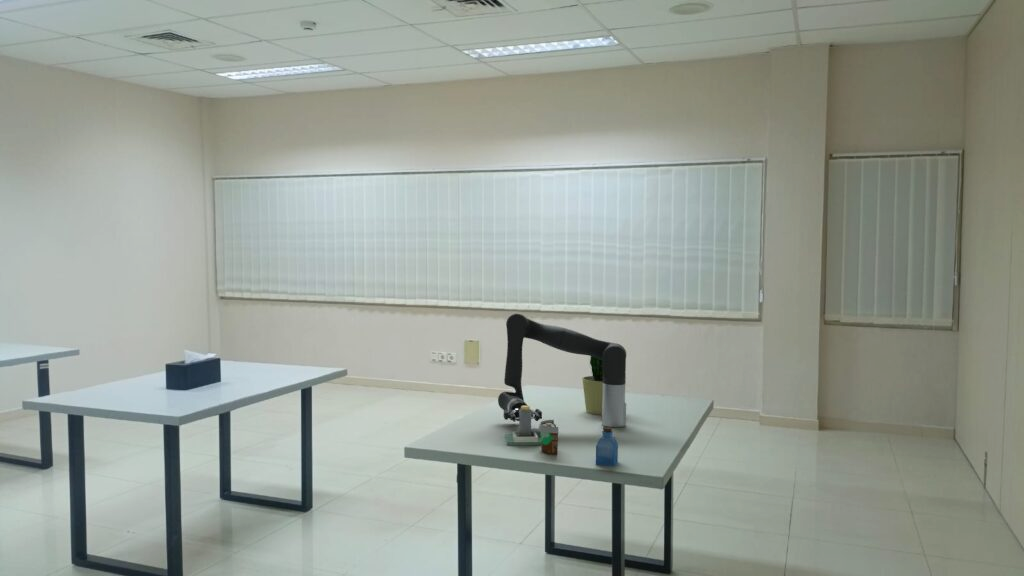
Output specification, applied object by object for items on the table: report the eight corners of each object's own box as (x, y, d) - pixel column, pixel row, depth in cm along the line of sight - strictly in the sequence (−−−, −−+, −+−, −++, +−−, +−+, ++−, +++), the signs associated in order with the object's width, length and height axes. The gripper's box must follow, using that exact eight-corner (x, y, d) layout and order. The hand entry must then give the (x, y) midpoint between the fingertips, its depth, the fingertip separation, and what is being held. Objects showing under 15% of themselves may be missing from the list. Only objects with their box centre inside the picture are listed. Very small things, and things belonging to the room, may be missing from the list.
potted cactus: (580, 414, 321) (581, 346, 319) (582, 407, 336) (583, 341, 334) (616, 416, 318) (617, 347, 317) (616, 408, 334) (618, 343, 332)
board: (541, 436, 281) (541, 428, 281) (545, 445, 269) (545, 436, 268) (504, 437, 280) (504, 428, 280) (507, 445, 268) (507, 436, 267)
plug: (530, 437, 275) (530, 405, 274) (531, 440, 270) (531, 407, 270) (518, 437, 274) (518, 405, 274) (519, 440, 270) (520, 407, 269)
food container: (536, 446, 267) (536, 419, 266) (553, 446, 267) (553, 419, 267) (540, 456, 254) (540, 427, 254) (558, 456, 255) (558, 427, 255)
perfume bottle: (617, 461, 249) (618, 426, 249) (614, 466, 244) (614, 430, 243) (599, 459, 251) (600, 424, 251) (595, 464, 246) (596, 429, 245)
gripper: (500, 400, 286) (507, 409, 270) (536, 399, 289) (545, 408, 273) (500, 419, 287) (506, 429, 271) (535, 418, 289) (544, 428, 273)
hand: (526, 418), depth 272 cm, fingers open, 8 cm apart
